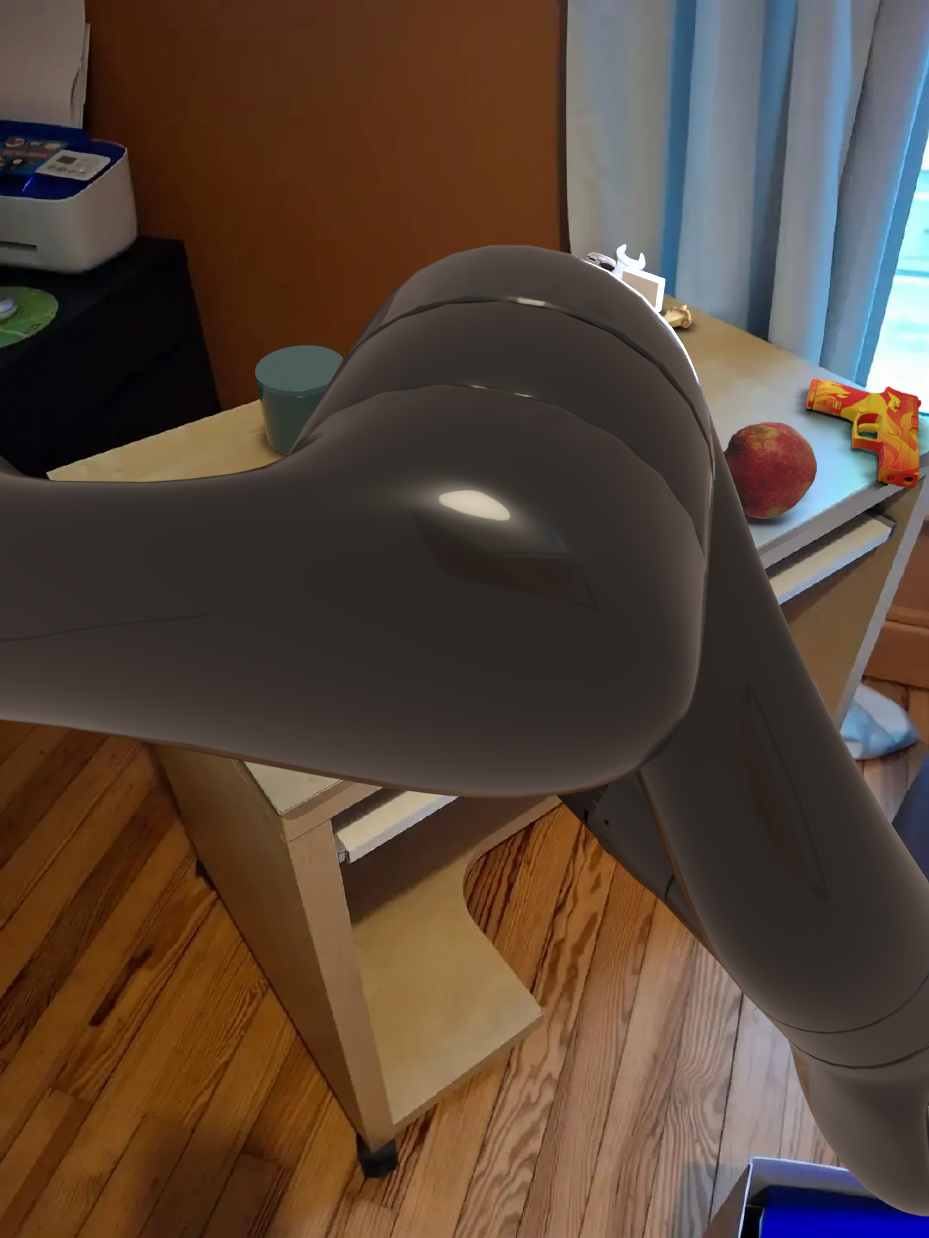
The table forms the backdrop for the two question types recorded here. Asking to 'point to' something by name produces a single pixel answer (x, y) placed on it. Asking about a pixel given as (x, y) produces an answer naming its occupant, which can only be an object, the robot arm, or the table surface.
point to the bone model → (678, 317)
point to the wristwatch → (601, 261)
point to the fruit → (770, 468)
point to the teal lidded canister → (292, 390)
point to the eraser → (645, 285)
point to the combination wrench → (626, 262)
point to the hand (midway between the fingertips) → (467, 607)
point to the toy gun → (876, 425)
